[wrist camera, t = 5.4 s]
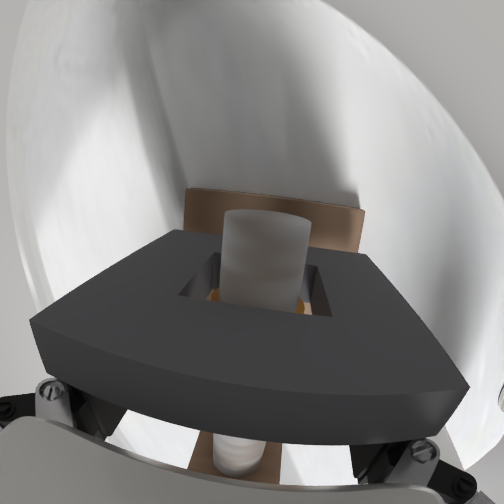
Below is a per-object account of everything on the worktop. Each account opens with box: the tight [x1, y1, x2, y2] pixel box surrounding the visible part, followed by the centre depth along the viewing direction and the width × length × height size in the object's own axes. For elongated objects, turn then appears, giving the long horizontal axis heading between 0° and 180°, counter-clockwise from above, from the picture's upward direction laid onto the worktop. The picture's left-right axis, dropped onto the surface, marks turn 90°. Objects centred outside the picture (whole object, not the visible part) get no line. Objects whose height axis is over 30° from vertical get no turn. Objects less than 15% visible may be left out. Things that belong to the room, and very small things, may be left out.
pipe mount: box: [184, 188, 365, 484], centre depth 16 cm, size 12×20×12 cm, turn 174°
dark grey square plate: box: [29, 229, 470, 445], centre depth 11 cm, size 12×2×12 cm, turn 84°
